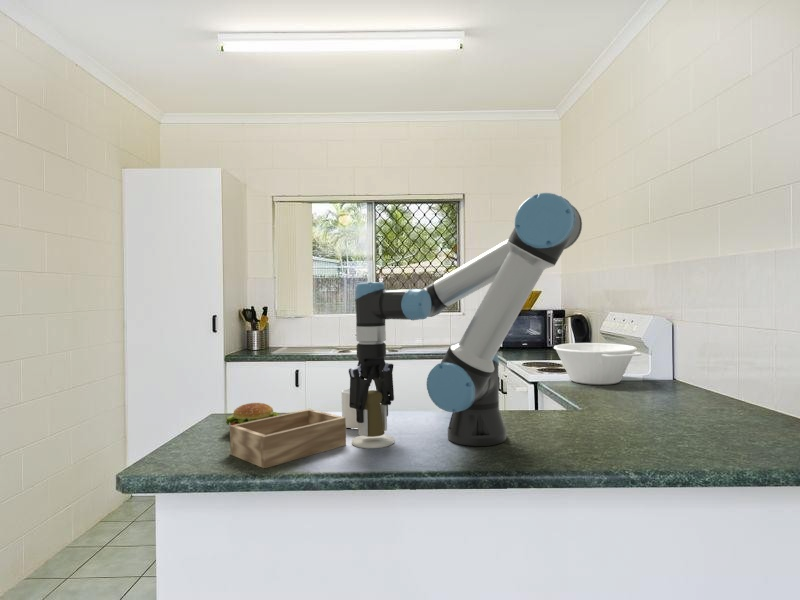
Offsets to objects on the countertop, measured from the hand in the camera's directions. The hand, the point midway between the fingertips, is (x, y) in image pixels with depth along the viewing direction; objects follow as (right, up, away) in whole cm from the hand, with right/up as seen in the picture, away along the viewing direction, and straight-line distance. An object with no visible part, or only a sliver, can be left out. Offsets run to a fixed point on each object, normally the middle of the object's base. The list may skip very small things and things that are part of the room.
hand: (372, 432), depth 137 cm
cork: (0, -1, 0) cm, 1 cm away
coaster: (0, -3, 0) cm, 3 cm away
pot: (+86, +1, +80) cm, 118 cm away
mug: (-5, -3, +15) cm, 16 cm away
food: (-35, -3, +13) cm, 37 cm away
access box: (-20, -3, -5) cm, 21 cm away
